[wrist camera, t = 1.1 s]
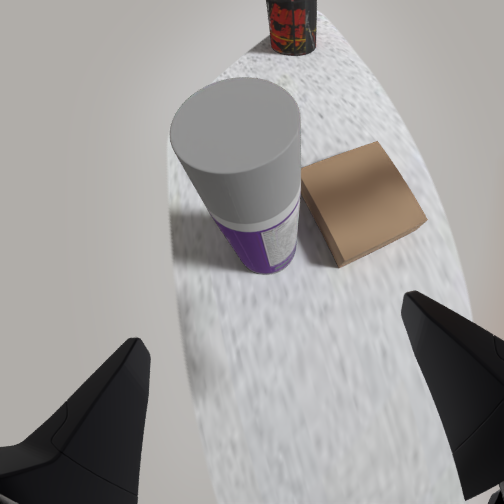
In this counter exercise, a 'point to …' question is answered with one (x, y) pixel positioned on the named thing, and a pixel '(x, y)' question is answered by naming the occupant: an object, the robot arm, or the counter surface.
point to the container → (245, 165)
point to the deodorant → (292, 26)
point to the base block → (359, 202)
